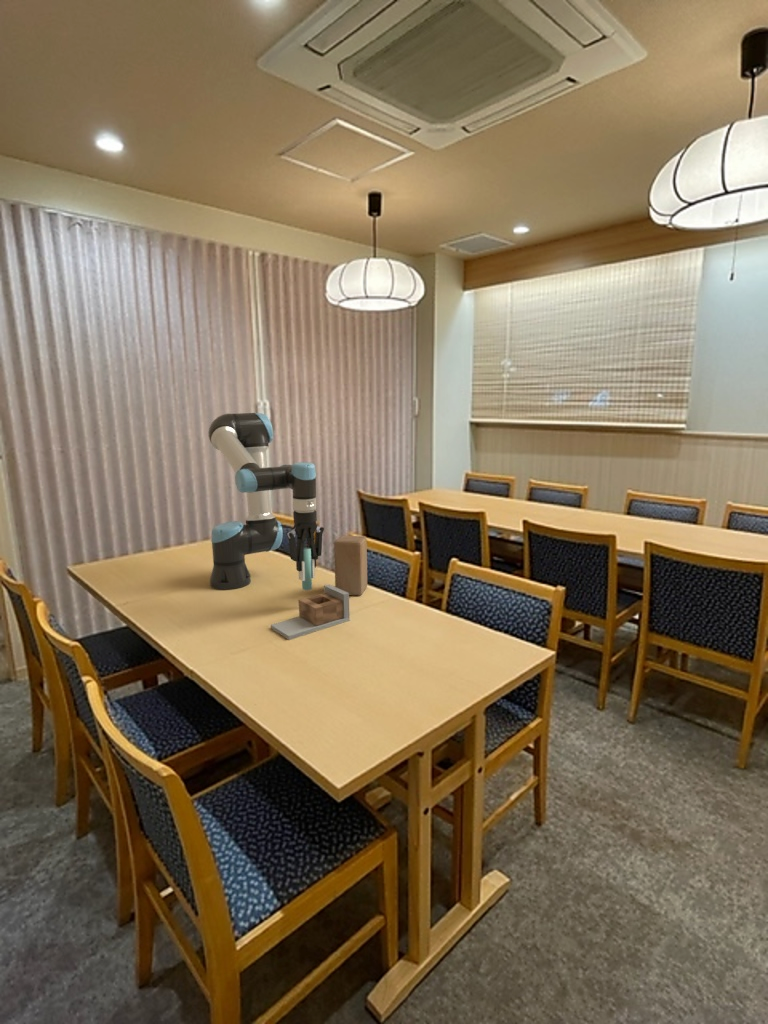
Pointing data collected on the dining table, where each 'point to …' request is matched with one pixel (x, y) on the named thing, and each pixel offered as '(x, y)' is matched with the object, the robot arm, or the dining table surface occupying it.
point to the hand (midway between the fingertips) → (306, 578)
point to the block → (351, 564)
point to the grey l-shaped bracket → (303, 627)
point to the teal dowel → (307, 569)
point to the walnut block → (320, 608)
